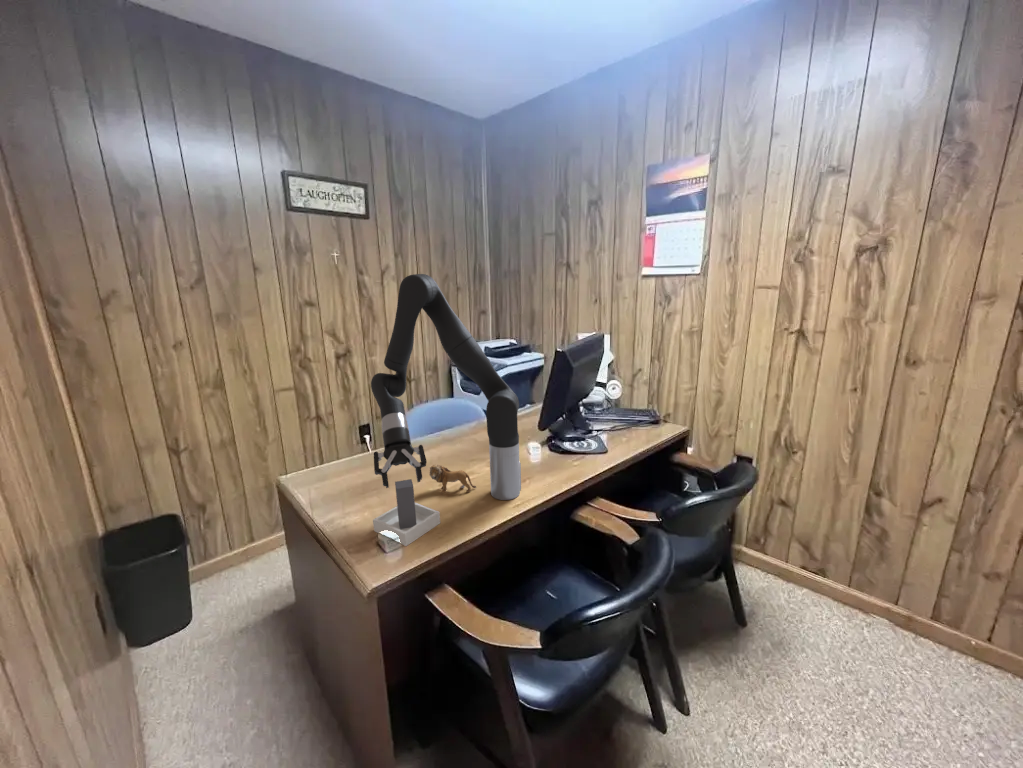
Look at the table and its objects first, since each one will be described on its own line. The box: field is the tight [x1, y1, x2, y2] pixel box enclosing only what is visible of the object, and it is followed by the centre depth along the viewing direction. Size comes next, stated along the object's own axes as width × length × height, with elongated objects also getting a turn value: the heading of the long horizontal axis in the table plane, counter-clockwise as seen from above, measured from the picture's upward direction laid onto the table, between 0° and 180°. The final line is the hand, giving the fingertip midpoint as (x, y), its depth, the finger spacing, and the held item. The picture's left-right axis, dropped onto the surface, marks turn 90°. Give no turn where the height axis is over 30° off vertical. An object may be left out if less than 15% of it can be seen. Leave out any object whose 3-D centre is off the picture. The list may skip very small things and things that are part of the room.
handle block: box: [394, 478, 416, 530], centre depth 114 cm, size 4×4×12 cm
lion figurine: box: [429, 464, 477, 493], centre depth 135 cm, size 15×5×9 cm, turn 95°
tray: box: [372, 502, 441, 547], centre depth 116 cm, size 13×13×4 cm
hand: (403, 484), depth 116 cm, fingers open, 8 cm apart
